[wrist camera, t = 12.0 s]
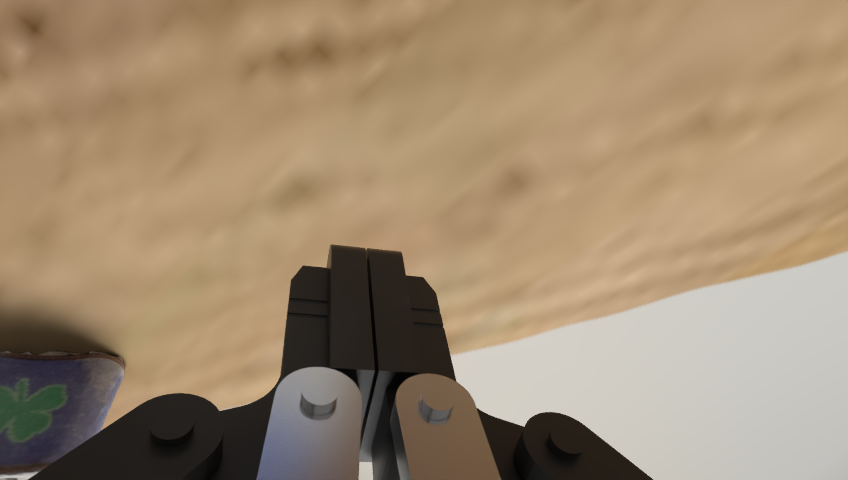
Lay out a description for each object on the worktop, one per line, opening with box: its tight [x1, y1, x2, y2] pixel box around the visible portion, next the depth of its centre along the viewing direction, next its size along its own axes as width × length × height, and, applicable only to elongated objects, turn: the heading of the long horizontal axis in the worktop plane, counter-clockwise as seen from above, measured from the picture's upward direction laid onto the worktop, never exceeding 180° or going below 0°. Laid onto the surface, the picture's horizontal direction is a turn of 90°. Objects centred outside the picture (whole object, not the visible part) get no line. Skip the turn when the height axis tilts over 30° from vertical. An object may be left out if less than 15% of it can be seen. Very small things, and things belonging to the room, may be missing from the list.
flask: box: [0, 351, 125, 480], centre depth 33 cm, size 9×3×11 cm, turn 81°
